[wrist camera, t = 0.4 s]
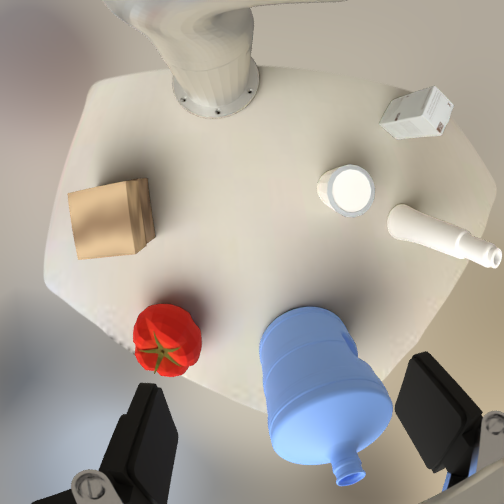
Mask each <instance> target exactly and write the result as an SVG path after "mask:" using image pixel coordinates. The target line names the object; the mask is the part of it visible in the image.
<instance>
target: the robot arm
mask: <svg viewBox="0 0 504 504" xmlns="http://www.w3.org/2000/svg"><path fill="white" fill-rule="evenodd" d="M341 1H346V0H102V2H103V3H104V4H105V5H106V6H107V7H108V8H109V10H110V11H111V12H112V13H113V14H115V15H116V16H117V17H118V18H120V19H121V20H122V21H124V22H125V23H127V24H128V25H130V26H131V27H133V28H134V29H136V30H138V31H139V32H141V33H142V34H144V35H145V36H146V37H147V38H148V39H149V40H150V41H151V43H152V44H153V45H154V47H155V48H156V50H157V51H158V52H159V54H160V56H161V57H162V59H163V60H164V61H165V63H166V64H167V66H168V67H169V69H170V70H171V72H172V73H173V81H172V86H173V92H174V94H175V97H176V99H177V100H178V102H179V103H180V105H181V106H182V107H183V108H184V109H186V110H187V111H188V112H190V113H192V114H194V115H196V116H199V117H203V118H210V119H216V118H224V117H228V116H231V115H233V114H235V113H237V112H239V111H240V110H242V109H244V108H245V107H246V106H247V105H248V104H249V103H250V102H251V100H252V99H253V98H254V96H255V94H256V92H257V89H258V85H259V71H258V68H257V65H256V63H255V62H254V60H253V59H252V57H251V49H252V40H253V30H254V20H253V15H252V12H251V9H250V8H252V7H255V6H264V5H275V4H289V3H311V2H312V3H313V2H341ZM249 91H251V92H252V93H251V94H249V93H248V92H249ZM185 99H186V101H185V102H183V100H185ZM217 112H220V114H219V115H218V114H217ZM395 412H396V414H397V416H398V418H399V419H400V421H401V423H402V425H403V426H404V428H405V430H406V431H407V433H408V435H409V437H410V438H411V440H412V442H413V443H414V445H415V447H416V449H417V450H418V452H419V454H420V456H421V458H422V459H423V461H424V463H425V465H426V466H427V468H428V469H432V471H433V473H436V472H438V471H440V470H442V469H444V468H446V469H447V471H448V472H447V476H446V479H445V483H444V486H443V490H442V492H441V493H439V494H437V495H435V496H433V497H431V498H430V499H427V500H425V501H423V502H421V503H419V504H504V413H502V412H500V411H491V412H488V413H487V414H486V415H485V416H484V417H482V415H481V414H482V413H483V412H482V411H481V410H480V408H479V407H478V406H477V405H476V404H475V403H474V402H473V400H471V398H470V397H469V396H468V395H467V393H466V392H465V391H464V390H463V389H462V388H461V387H460V386H459V385H458V384H457V382H456V381H455V380H454V379H453V378H452V377H451V376H450V375H449V374H448V373H447V371H445V369H444V368H443V367H442V366H441V365H440V364H439V363H438V362H437V361H436V360H435V359H434V358H433V357H432V355H431V354H429V353H428V352H426V351H425V352H422V353H418V354H415V355H413V357H412V359H410V360H409V363H408V367H407V370H406V373H405V377H404V380H403V383H402V386H401V390H400V392H399V395H398V398H397V401H396V404H395ZM177 444H178V432H177V429H176V427H175V424H174V422H173V419H172V416H171V414H170V411H169V408H168V405H167V402H166V399H165V397H164V394H163V391H162V389H161V388H158V387H157V385H156V384H152V383H140V384H139V385H138V388H137V390H136V392H135V395H134V397H133V400H132V402H131V404H130V407H129V409H128V412H127V414H123V415H122V416H121V417H120V419H119V421H118V423H117V426H116V428H115V430H114V433H113V435H112V438H111V440H110V443H109V445H108V448H107V450H106V453H105V455H104V458H103V460H102V463H101V465H100V468H99V471H97V470H90V469H89V470H84V471H82V472H79V473H78V474H77V475H76V476H75V477H74V478H73V480H72V483H71V489H69V490H67V491H64V492H61V493H58V494H55V495H52V496H49V497H46V498H43V499H40V500H37V501H35V502H33V503H32V504H167V500H168V494H169V488H170V482H171V476H172V470H173V465H174V460H175V454H176V449H177Z"/></svg>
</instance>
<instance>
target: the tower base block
mask: <svg viewBox="0 0 504 504" xmlns="http://www.w3.org/2000/svg"><path fill="white" fill-rule="evenodd" d="M128 181H138V184H139V194H140V202H141V210H142V218H143V225H144V232H145V239H146V244H147V243H149V242H150V241H151V240H153V239H154V238H155V237H156V236H155V230H154V224H153V217H152V210H151V203H150V195H149V187H148V179H147V178H142V179H133V180H128ZM123 182H124V181H123Z"/></svg>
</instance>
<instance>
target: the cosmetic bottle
mask: <svg viewBox="0 0 504 504" xmlns="http://www.w3.org/2000/svg"><path fill="white" fill-rule="evenodd" d="M387 227H388V231H389V233H390V234H391V236H392V237H394V238H395V239H398V240H405V241H410V242H414V243H418V244H421V245H424V246H426V247H429V248H432V249H435V250H437V251H440V252H443V253H445V254H448V255H451V256H454V257H457V258H459V259H464V258H467V259H470V260H472V261H474V262H476V263H478V264H481V265H483V266H484V267H493V268H496V267H498V265H499V264H500V261H501V258H502V252H501V249H500V248H497V247H496V246H495V245H494V244H493V243H491V242H488V241H486V240H483V239H480V238H477V237H475V236H472V235H471V233H470V232H469V231H467V230H465V229H463V228H460V227H458V226H456V225H453V224H451V223H448V222H445V221H443V220H440V219H437V218H434V217H432V216H429V215H426V214H424V213H421V212H419V211H417V210H415V209H413V208H411V207H410V206H408V205H405V204H399V205H397V206H395V207H394V208H393V209H392V210H391V211H390V213H389V215H388V219H387Z"/></svg>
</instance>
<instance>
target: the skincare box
mask: <svg viewBox="0 0 504 504" xmlns="http://www.w3.org/2000/svg"><path fill="white" fill-rule="evenodd" d="M453 107H454V105H453V104H452V103H451V101H449V99H448V98H447V97H446V96H445V95H444V94H443V93H442V92H441V91H440V90H439V89H438V88H437V87H436V86H432V87H429V88H426V89H423V90H419V91H416V92H413V93H411V94H408V95H405V96H402V97H399V98H396V99H394V100H392V101H391V103H390V104H389V106H388V108H387V109H386V111H385V113H384V115H383V117H382V119H381V121H380V123H379V125H380V126H381V127H382V128H384V129H385V130H386V131H387V132H388V133H389V134H391V135H392V136H393V137H394V138H395V139H397V140H399V139H408V138H418V137H430V136H441V135H442V133H443V131H444V129H445V126H446V125H447V123H448V122H449V119H450V114H451V112H452V109H453Z"/></svg>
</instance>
